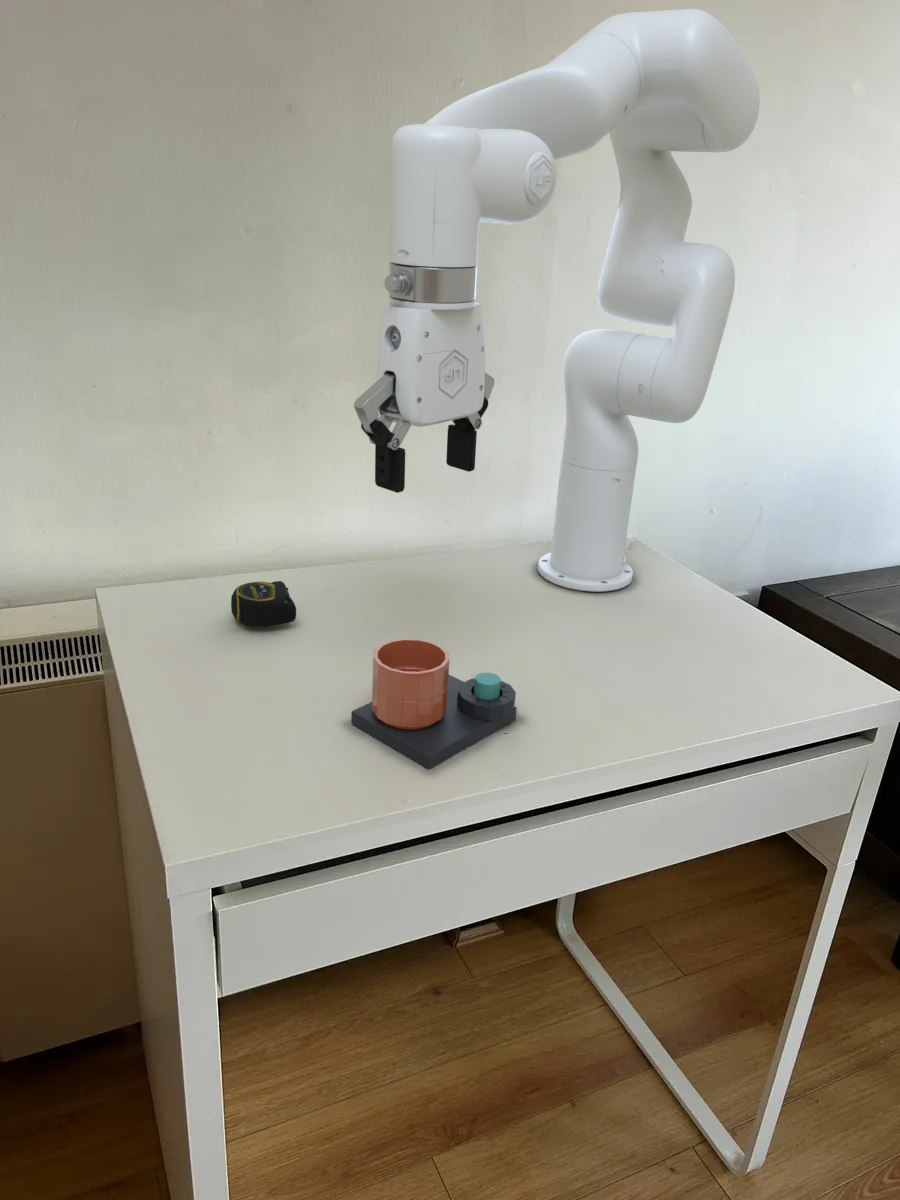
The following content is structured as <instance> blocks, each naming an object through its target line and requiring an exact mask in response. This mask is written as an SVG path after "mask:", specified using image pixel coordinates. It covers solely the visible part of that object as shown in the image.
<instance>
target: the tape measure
mask: <svg viewBox="0 0 900 1200" xmlns="http://www.w3.org/2000/svg"><path fill="white" fill-rule="evenodd" d="M230 609H231V610H230V611H231V614H232V616H233V617H234V619H235V620H236V621H237V622H238V623H240V624H242V625H244V626H247V627H250V628H258V629H260V628H261V629H265V628H271V627H276V626H281V625H285V624H290V623H293V622H294V621H295V620H296V618H297V607H296V603H295V602H294V600H293V599H292V597H291V595H290V592H289V587H287V586H286V583H285V582H284V581H281V580H278V581H277V580H275V581H272V582H268V581H251V582H246V583H244V584H240V585H239V586H238V587H236V588H235V589H234V590H233V593H232V595H231V597H230Z"/></svg>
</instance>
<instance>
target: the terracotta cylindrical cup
mask: <svg viewBox="0 0 900 1200" xmlns="http://www.w3.org/2000/svg"><path fill="white" fill-rule="evenodd" d="M372 656H373V657H372V689H371V693H372V694H371V702H372V711H373V712H374V714H375V715H376V717H377V718H378V719H380V720H381V721H382V722H384V723H385V724H387V725H389V726H392V727H395V728H399V729H406V730H415V729H422V728H426V727H429V726H431V725H433V724H435V723H436V722H437V721H439V720H440V719H442V717H443V716H444V715H445V713H446V707H447V691H448V676H449V675H450V653H449V652H448V650H447V649H446V648H445V647H444V646H443V645H440V644H439V643H436V642H434V641H432V640H428V639H423V638H415V637H414V638H412V637H411V638H410V637H409V638H408V637H403V638H397V639H390V640H388V641H386V642H383V643H381V644H379V645H377V647H376V648H375V649H374V650H373V655H372Z"/></svg>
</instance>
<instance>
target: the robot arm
mask: <svg viewBox="0 0 900 1200" xmlns="http://www.w3.org/2000/svg"><path fill="white" fill-rule="evenodd" d="M760 104H761V99H760V87H759V83H758V79H757V76H756V73H755V71H754V69H753V67H752V65H751V63H750V62H749V60H748V59H747V57H746V55H745V54H744V53H743V51H742V49H741V48H740V46H739V45H738V43H737V42H736V40H735V38H734V37H733V36H732V34H731V32H729V31H728V29H727V28H726V27H725V26H724V24H723V23H722V22H721V21H719V19H717V18H716V17H715V16H714V15H712V14H711V13H709V12H707V11H705V10H703V9H700V8H681V9H664V10H650V11H632V12H631V11H630V12H623V13H618V14H615V15H612V16H610V17H608V18H606V19H604V20H602V21H600V22H599V23H598V24H597V25H595V26H594V27H593V28H592V29H591V30H589V31H588V32H587V33H585V34H584V35H582V36H581V37H580V38H579V39H577V40H576V41H575V42H573V43H572V45H570V46H569V47H568V48H566V49H565V50H564V51H562V52H561V53H559V54H558V55H557V56H556V57H554V58H553V59H552V60H551V61H550V62H548V63H547V64H545V65H543V66H539V67H536V68H533V69H530V70H529V71H526V72H523V73H521V74H518V75H515V76H513V77H511V78H508V79H506V80H503V81H501V82H498V83H496V84H493V85H491V86H490V85H489V86H488V87H485V88H482V89H479V90H478V91H475V92H473V93H470V94H468V95H466V96H464V97H461V98H459V99H457V100H456V101H454V102H452V103H450V104H448V105H447V106H445V107H444V108H443V109H441V110H440V111H439V112H437V113H436V114H435V115H434V116H432V117H431V118H429V119H428V120H427V121H426V122H424V123H413V124H406V125H402V126H400V127H399V128H398V129H397V130H396V131H395V132H394V134H393V136H392V140H391V144H390V145H391V146H390V175H389V176H390V177H389V178H390V183H389V264H388V271H389V272H388V275H387V276H385V279H384V288H385V290H386V291H387V292H388V303H385V305H384V310H383V314H382V315H383V316H382V321H381V328H380V335H379V341H378V351H377V364H376V366H377V367H376V382H374V383H373V384H372V385H371V386H370V387H368V389H366V390H365V391H364V392H363V393H362V394H360V396H358V397H357V398H356V399H355V401H354V403H353V408H354V410H355V412H356V415H357V417H358V420H359V421H360V428H361V430H362V431H363V432H364V433H365V435H367V437H368V440H369V443H370V444H372V445H375V447H374V448H375V449H374V483H375V485H376V486H377V487H378V488H382V489H385V490H387V491H391V492H393V493H396V494H397V493H398V494H399V493H403V492H404V490H405V487H406V448H403V447H401V445H402V443H403V441H404V439H405V437H406V436H407V434H408V432H409V430H410V428H411V427H412V426H414V427H420V428H421V427H428V426H433V425H438V424H441V423H447V422H451V421H452V423H453V424H448V425H447V427H448V428H447V436H446V439H447V440H446V459H445V460H446V465H447V466H449V467H452V468H455V469H458V470H462V471H465V472H468V473H469V472H473V471H474V470H475V469H476V456H477V455H476V453H477V434H478V432H477V430H479V429H480V428H481V427H482V424H483V420H482V418H483V416H484V414H485V412H486V411H487V409H488V407H489V399H490V397H491V394H492V392H493V388H494V385H495V378H494V377H493V376H491V375H489V374H488V373H487V372H486V371H485V370H486V359H485V358H486V353H485V351H486V349H485V334H484V333H485V332H484V331H485V330H484V324H483V323H484V321H483V315H482V309H481V303H479V302H477V301H476V297H477V281H478V280H477V279H478V277H477V276H478V260H479V259H478V255H479V240H480V239H479V238H480V223H484V224H495V225H496V224H497V225H520V224H523V223H527V222H529V221H531V220H533V219H535V218H537V217H538V216H539V215H540V214H542V213H543V211H544V210H545V209H546V208H547V207H548V206H549V204H550V202H551V200H552V198H553V196H554V193H555V189H556V186H557V166H556V161H558V160H563V159H566V158H570V157H574V156H577V155H580V154H584V153H585V152H587V151H589V150H591V149H592V148H593V147H595V146H596V145H597V144H599V142H601V141H602V140H603V138H604V137H606V136H607V135H608V134H609V137H610V141H611V145H612V150H613V154H614V157H615V161H616V167H617V171H618V176H619V184H620V194H619V200H618V201H619V202H618V206H617V211H616V214H615V219H614V222H613V226H612V229H611V233H610V237H609V241H608V245H607V248H606V253H605V256H604V260H603V264H602V267H601V272H600V276H599V281H598V285H597V294H596V295H597V303H598V306H599V308H600V310H601V312H603V313H604V314H605V315H606V316H608V317H610V318H611V319H612V318H613V319H615V320H620V321H621V322H622V321H623V322H628V323H636V324H641V325H647V326H654V327H655V326H657V327H664V328H671V329H675V330H674V336H673V337H666V336H660V335H659V336H658V335H653V334H646V333H642V332H633V331H626V330H619V329H612V328H611V329H609V328H597V329H591V330H587V331H584V332H582V333H580V334H579V335H576V337H574V339H572V341H571V342H570V343H569V345H568V347H567V349H566V351H565V355H564V358H563V362H562V363H563V364H562V386H563V396H564V427H563V428H564V429H563V439H562V440H563V441H562V451H561V458H560V459H561V460H560V468H559V478H558V487H557V496H556V503H555V504H556V505H555V513H554V524H553V532H552V542H551V550H550V551H549V552H547V553H545V554H543V555H542V556H541V557H540V558H539V560H538V562H537V571H538V573H539V574H540V576H541V577H542V578H544V579H545V580H547V581H548V582H550V583H552V584H555V585H557V586H559V587H562V588H566V589H571V590H575V591H583V592H593V593H595V592H597V593H598V592H603V593H604V592H612V591H617V590H620V589H623V588H625V587H627V586H629V585H630V584H631V583H632V581H633V576H634V569H633V568H632V566H631V565H630V564H629V563H627V562H626V561H624V559H625V554H627V553H628V551H630V550H633V549H635V548H637V547H638V545H639V539H638V537H637V536H636V535H634V534H629V535H628V528H629V521H630V514H631V508H632V507H631V506H632V500H633V492H634V485H635V479H636V472H637V465H638V459H639V442H638V438H637V434H636V431H635V429H634V426H633V424H632V422H631V419H630V418H629V416H631V417H637V418H642V419H647V420H653V421H659V422H664V423H670V424H681V423H682V424H683V423H685V422H687V421H690V420H691V419H692V418H694V416H695V415H697V413H698V412H699V410H700V408H701V406H702V404H703V402H704V400H705V397H706V395H707V391H708V388H709V384H710V381H711V378H712V375H713V371H714V367H715V364H716V360H717V357H718V354H719V351H720V350H719V349H720V346H721V343H722V339H723V336H724V333H725V330H726V326H727V322H728V319H729V315H730V312H731V311H730V310H731V307H732V303H733V299H734V295H735V284H736V272H735V271H736V270H735V264H734V262H733V259H732V257H731V256H730V254H729V253H728V252H727V251H726V250H724V249H723V248H721V247H719V246H716V245H713V244H708V243H700V242H699V243H698V242H690V241H689V242H688V241H684V240H685V236H686V232H687V228H688V224H689V221H690V217H691V213H692V209H693V208H692V207H693V199H692V198H693V197H692V193H691V191H690V187H689V184H688V182H687V179H686V177H685V175H684V174H683V172H682V169H680V167H679V165H678V163H677V162H676V159H675V158H674V156H673V154H672V152H681V153H682V152H683V153H685V152H689V153H727V152H730V151H735V150H736V149H738V148H739V147H741V146H743V144H745V142H746V141H747V140H748V139H749V138H750V136H751V135H752V133H753V131H754V129H755V127H756V123H757V122H758V118H759V113H760ZM393 423H394V424H395V425H394V427H393V429H392V430H390V428H391V425H392V424H393Z"/></svg>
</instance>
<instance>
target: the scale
mask: <svg viewBox="0 0 900 1200" xmlns="http://www.w3.org/2000/svg"><path fill="white" fill-rule="evenodd" d="M474 686H475V677H474V678H469V679H468V680H466V681H463V680H461V679H459V678H457V677H455V676H453V675H451V674H449V676H448V691H447V707H446V713H445V715H444V716H443V717H442V719H440V720H439V721H437V722H436V723H435V724H433V725H431V726H429V727H426V728H422V729H415V730H406V729H399V728H395V727H392V726H389V725H387V724H385V723H384V722H382V721H381V720H380V719H378V718H377V717H376V715H375V714H374V712H373V711H372V701H371V702H368V703H366V704H365V705H362V706H360V707H358V708H356V709H354V710H352V711H351V715H350V716H351V717H350V718H351V721H350V723H351V725H352V726H354V727H355V728H358V729H359V730H361V731H363V732H364V733H365V734H368V735H369V736H371V737H373V738H374V739H376V740H377V741H380V742H381V743H383V744H384V745H386V746H388V747H390V748H392V749H393V750H395V751H396V752H398V753H400V754H401V755H403V756H405V757H406V758H408V759H410V760H412V761H413V762H415V763H417V764H418V765H420V766H421V767H424V768H425V769H427V770H431V769H432V768H434V767H436V766H438V765H439V764H441V763H443V762H444V761H446V760H448V759H450V758H452V757H454V756H455V755H457V754H459V753H460V752H462V751H464V750H466V749H467V748H469V747H471V746H472V745H475V744H476V743H478V742H480V741H481V740H483V739H485V738H487V737H488V736H490V735H492V734H494V733H495V732H497V731H499V730H501V729H502V728H504V727H506V726H507V725H509V724H511V723H513V722H514V721H516V720H517V719H516V717H517V707H516V705H515V704H516V694H517V693H516V691H515V689H514V688H513V686H512V685H511V684H509V683H508V682H505V681H503V680H501V683H500V694H499V698H497V699H491V700H486V699H480V698H478V697H476V696H475V695H474Z"/></svg>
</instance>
